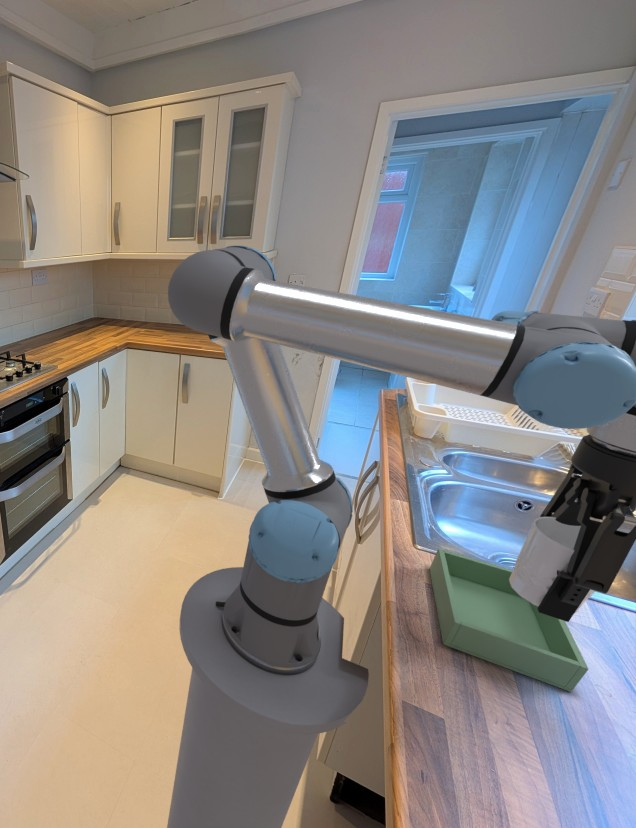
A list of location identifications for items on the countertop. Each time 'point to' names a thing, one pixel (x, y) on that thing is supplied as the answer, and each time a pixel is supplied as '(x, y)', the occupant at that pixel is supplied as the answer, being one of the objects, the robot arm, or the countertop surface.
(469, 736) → the countertop surface
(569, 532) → the white cup
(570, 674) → the tray
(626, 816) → the countertop surface
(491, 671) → the countertop surface
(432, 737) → the countertop surface
